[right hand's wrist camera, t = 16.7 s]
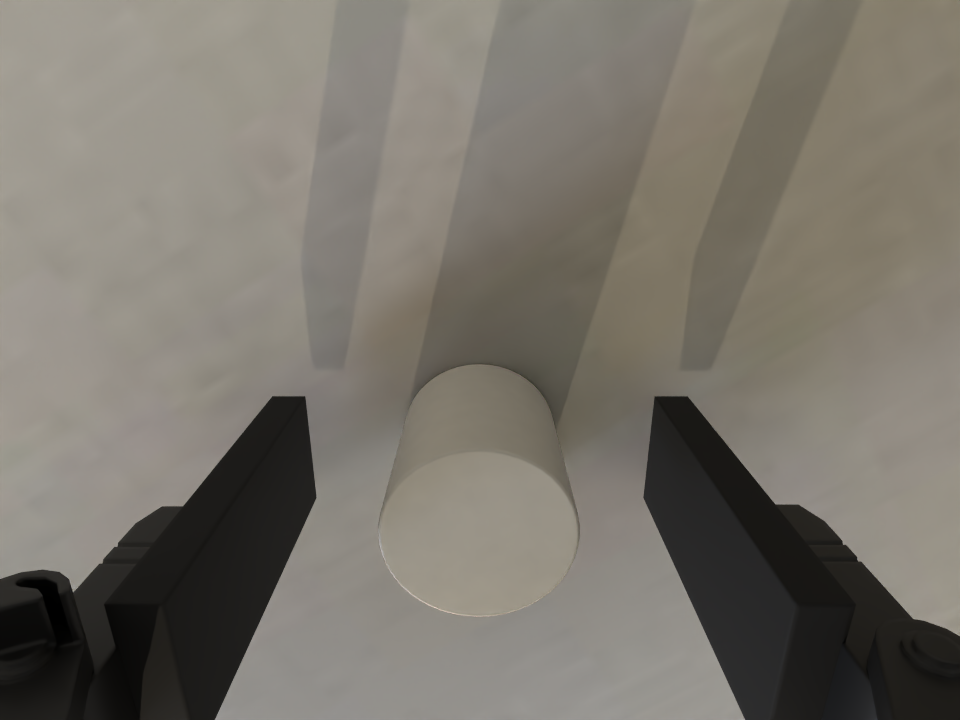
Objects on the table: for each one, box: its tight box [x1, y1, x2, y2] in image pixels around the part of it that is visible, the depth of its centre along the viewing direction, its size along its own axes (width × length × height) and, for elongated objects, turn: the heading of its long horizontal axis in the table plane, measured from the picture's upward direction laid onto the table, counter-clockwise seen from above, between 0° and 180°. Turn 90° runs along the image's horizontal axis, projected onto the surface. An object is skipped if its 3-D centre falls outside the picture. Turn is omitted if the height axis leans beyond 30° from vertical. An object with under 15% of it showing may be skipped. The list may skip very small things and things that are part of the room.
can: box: [378, 364, 580, 617], centre depth 13 cm, size 4×4×4 cm
